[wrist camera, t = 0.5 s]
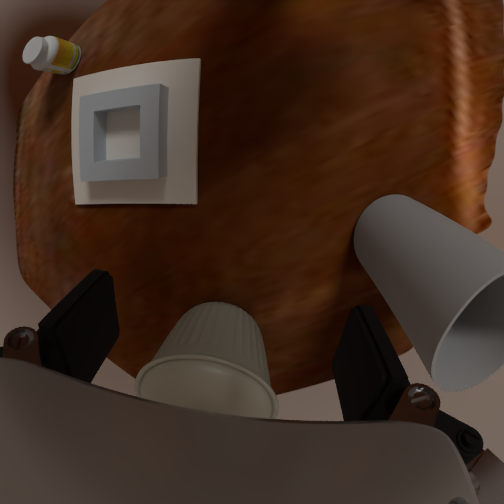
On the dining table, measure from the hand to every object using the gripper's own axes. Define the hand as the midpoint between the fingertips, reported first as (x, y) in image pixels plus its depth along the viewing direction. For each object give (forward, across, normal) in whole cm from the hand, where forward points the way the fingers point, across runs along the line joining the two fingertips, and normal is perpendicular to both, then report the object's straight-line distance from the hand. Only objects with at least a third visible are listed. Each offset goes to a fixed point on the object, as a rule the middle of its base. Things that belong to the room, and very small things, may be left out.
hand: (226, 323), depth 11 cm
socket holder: (+30, +18, -6) cm, 35 cm away
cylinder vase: (+30, -21, +4) cm, 37 cm away
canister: (+30, +3, +24) cm, 38 cm away
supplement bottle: (+30, +31, -19) cm, 47 cm away
